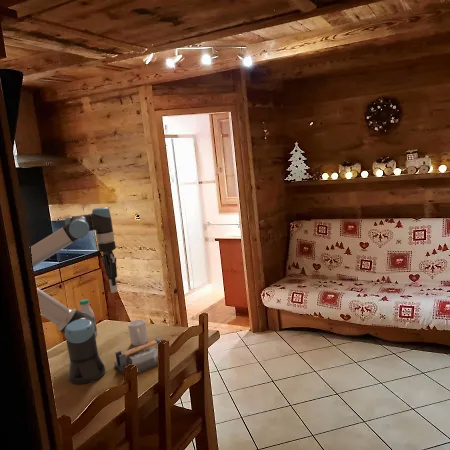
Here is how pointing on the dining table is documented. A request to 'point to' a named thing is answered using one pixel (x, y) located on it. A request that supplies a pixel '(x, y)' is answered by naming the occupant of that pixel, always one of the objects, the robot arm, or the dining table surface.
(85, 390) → the dining table surface
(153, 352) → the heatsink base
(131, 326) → the mug
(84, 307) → the milk bottle
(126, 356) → the brown wooden strip
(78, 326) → the robot arm
